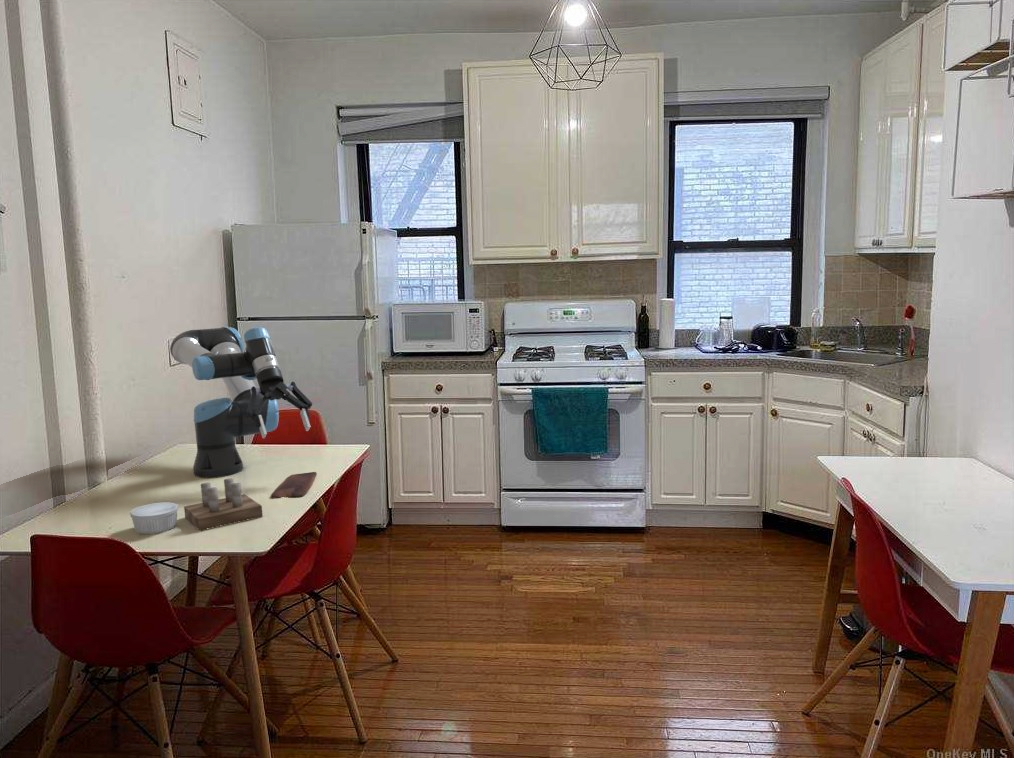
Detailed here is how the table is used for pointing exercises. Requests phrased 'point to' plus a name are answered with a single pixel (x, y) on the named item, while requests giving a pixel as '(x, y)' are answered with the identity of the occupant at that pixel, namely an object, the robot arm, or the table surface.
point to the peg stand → (222, 506)
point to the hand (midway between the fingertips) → (286, 432)
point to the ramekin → (154, 517)
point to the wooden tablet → (295, 485)
